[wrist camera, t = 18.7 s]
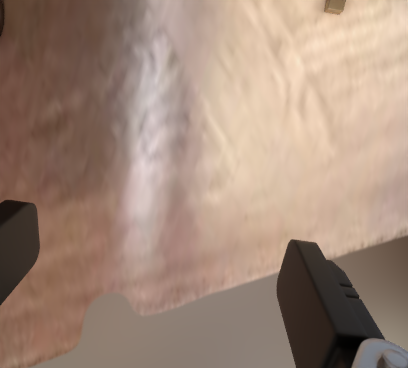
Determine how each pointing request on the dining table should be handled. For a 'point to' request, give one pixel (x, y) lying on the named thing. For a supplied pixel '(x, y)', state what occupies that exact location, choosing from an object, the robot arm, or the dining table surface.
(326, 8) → the brass frame
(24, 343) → the dining table surface
